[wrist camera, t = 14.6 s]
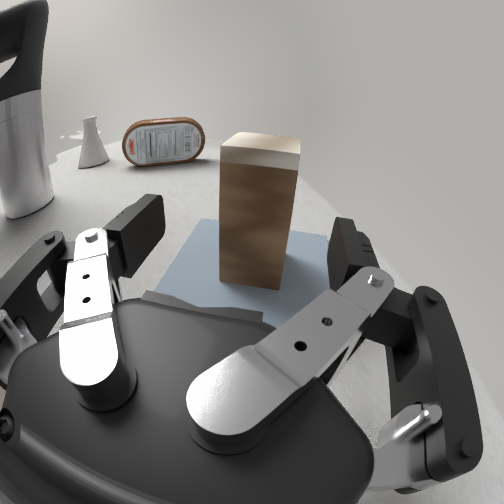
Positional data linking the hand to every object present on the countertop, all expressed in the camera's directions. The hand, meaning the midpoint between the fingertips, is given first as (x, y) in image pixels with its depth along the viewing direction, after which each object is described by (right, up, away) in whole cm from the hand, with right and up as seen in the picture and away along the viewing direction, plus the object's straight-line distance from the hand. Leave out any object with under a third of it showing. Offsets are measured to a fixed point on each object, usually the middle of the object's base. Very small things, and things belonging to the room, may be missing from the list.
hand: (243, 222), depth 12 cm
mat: (+1, -3, +10) cm, 11 cm away
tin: (-15, +14, +34) cm, 40 cm away
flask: (-32, +17, +35) cm, 50 cm away
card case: (+1, -2, +10) cm, 10 cm away
